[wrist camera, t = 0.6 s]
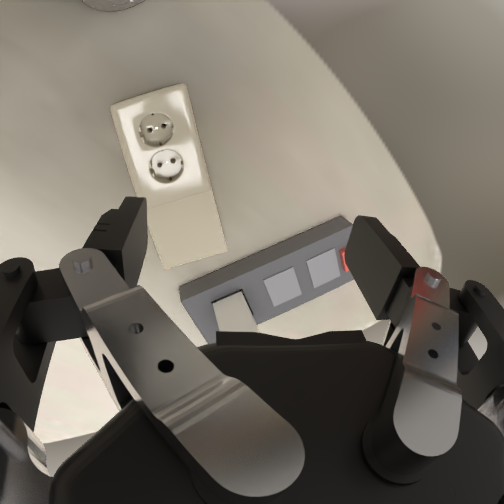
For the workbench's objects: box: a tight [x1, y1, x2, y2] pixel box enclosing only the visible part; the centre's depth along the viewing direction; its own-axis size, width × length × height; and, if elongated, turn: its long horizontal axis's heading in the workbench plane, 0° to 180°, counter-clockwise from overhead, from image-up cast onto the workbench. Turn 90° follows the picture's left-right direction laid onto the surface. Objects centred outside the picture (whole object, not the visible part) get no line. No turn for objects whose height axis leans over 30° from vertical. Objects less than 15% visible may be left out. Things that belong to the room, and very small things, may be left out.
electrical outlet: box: [110, 83, 228, 270], centre depth 31 cm, size 7×4×18 cm
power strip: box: [179, 216, 354, 344], centre depth 39 cm, size 8×26×4 cm, turn 109°
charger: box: [213, 291, 260, 333], centre depth 36 cm, size 5×4×12 cm
